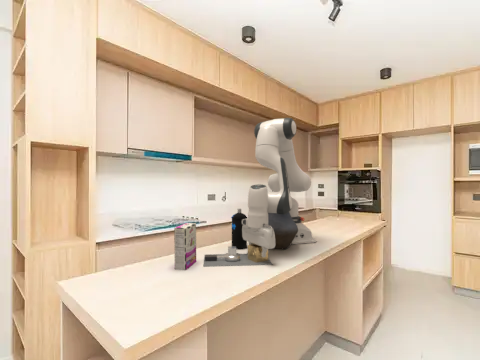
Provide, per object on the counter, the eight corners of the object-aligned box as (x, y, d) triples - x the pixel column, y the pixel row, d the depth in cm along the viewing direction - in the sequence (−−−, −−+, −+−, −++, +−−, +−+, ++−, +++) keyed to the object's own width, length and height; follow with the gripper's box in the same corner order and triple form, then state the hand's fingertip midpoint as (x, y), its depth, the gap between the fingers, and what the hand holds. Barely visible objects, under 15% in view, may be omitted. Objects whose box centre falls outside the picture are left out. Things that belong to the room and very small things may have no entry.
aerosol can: (247, 246, 136) (248, 208, 136) (246, 250, 128) (246, 209, 128) (232, 246, 137) (232, 207, 137) (230, 250, 128) (230, 209, 129)
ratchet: (239, 256, 116) (239, 245, 116) (241, 261, 109) (241, 249, 109) (205, 257, 114) (205, 245, 114) (204, 262, 107) (204, 250, 107)
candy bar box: (185, 261, 110) (185, 222, 110) (196, 262, 109) (196, 223, 109) (173, 270, 99) (173, 227, 99) (185, 271, 98) (186, 227, 98)
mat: (264, 254, 122) (265, 253, 122) (273, 265, 105) (273, 264, 105) (204, 255, 119) (204, 254, 119) (203, 267, 102) (203, 266, 102)
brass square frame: (259, 256, 116) (259, 243, 116) (268, 260, 111) (268, 246, 111) (247, 258, 113) (247, 244, 113) (255, 262, 108) (256, 248, 108)
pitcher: (289, 255, 120) (289, 201, 120) (247, 249, 131) (248, 199, 131) (302, 245, 138) (302, 198, 138) (264, 241, 148) (265, 197, 149)
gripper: (279, 225, 105) (279, 259, 105) (251, 218, 122) (251, 248, 122) (266, 226, 101) (266, 262, 101) (239, 219, 119) (239, 250, 119)
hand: (257, 254), depth 112 cm, fingers closed on brass square frame, 6 cm apart
